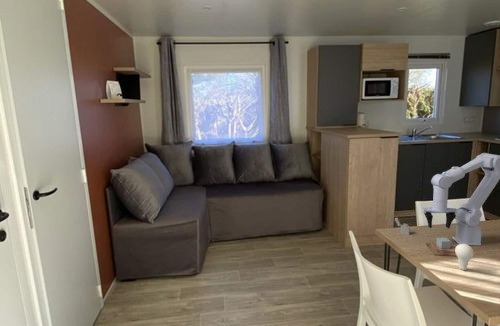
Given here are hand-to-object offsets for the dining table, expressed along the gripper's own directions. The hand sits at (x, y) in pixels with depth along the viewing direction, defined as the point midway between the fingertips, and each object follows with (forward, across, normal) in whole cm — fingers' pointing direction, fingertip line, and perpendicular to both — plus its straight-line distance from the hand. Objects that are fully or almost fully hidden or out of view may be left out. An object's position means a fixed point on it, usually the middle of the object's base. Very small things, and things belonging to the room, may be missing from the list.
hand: (438, 227), depth 145 cm
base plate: (+8, 0, +7) cm, 11 cm away
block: (+8, 0, +7) cm, 10 cm away
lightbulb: (+8, 0, +24) cm, 26 cm away
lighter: (+8, +13, -12) cm, 20 cm away
